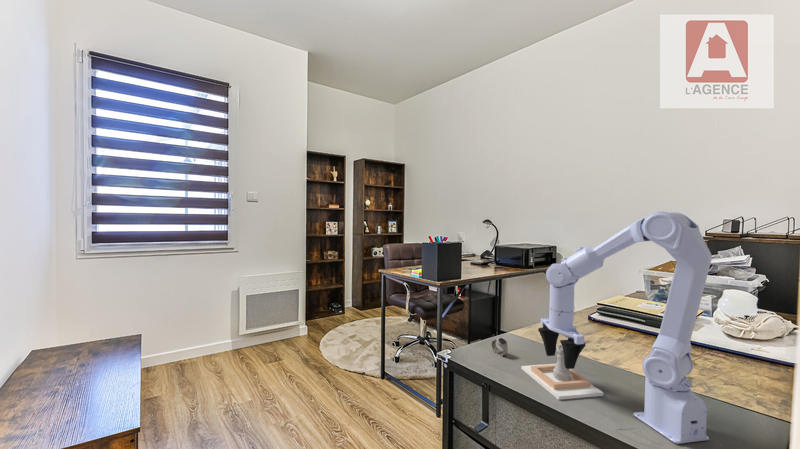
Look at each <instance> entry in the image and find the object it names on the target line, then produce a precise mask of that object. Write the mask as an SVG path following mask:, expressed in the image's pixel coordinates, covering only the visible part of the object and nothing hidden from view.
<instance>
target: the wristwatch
mask: <svg viewBox="0 0 800 449" xmlns="http://www.w3.org/2000/svg"><path fill="white" fill-rule="evenodd" d="M490 343H491V348H492V350H493V352H494V353H495V354H496V353H497V355H498V354H499V355H498V356H500V355H501V356H500V357H505V356H507V354H508V352H509V351H508V341H507V340H506V339H505V338H504V337H496V338H494V339H493V340H492V341H491V342H490ZM496 344H497V345H498V346H499V347H500V348H501V349H502V351H501V350H500V349H499V348H498V347H497V345H496Z"/></svg>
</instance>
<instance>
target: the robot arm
mask: <svg viewBox="0 0 800 449" xmlns="http://www.w3.org/2000/svg"><path fill="white" fill-rule="evenodd" d="M640 242H653V243H655V244H656V245H657V246H660V247H662V248H663V249H664V250H665V251H666V252H667V253H668V254H669V255H670V256H671V257H672V258H673V259H674V260H675V261H676V264H675V268H674V271H673V276H672V279H671V284H670V288H669V292H668V296H667V301H666V304H665V308H664V313H663V316H662V321H661V325H660V328H659V332H658V335H657V338H656V339H655V341H654V343H653V345H652V346H651V347H652V348H651V351H650V353H649V354H648V355H647V356H646V357H644V359H643V361H642V364H641V365H642V366H641V367H642V371H643V373H644V375H645V379H644V380H645V382H644V404H643V405H644V406H643V407H644V408H643V409H644V410H643V411H638V412H637V411H636V412H633V414H632V415H633V416H634V417H636V418H637V419H638V420H640V421H641V422H643V423H644V424H646V425H647V426H649V427H650V428H652V429H654V431H656V432H657V433H659V434H661V435H662V436H664V438H666V439H668V440H669V441H671V442H672V443H674V444H677V445H678V444H686V443H688V444H689V443H693V442H694V443H695V442H703V441H709V440H710V437H709V436H708V435H707V418H708V409H707V403H705V401H704V400H703V399H702V398H701V397H699V396H698V395H696V394H695V393H694V392H693V391H692V389H691V384H690V381H689V380H688V378H687V376H688V375H689V374H690V373H691V372H692V371H693V369H694V363H693V359H692V356H691V351H692V344H691V340H692V336H693V332H694V328H695V325H696V321H697V316H698V312H699V308H700V305H701V302H702V298H703V293H704V290H705V286H706V282H707V279H708V275H709V270H710V266H711V264H712V252H711V251H710V249H709V247H708V245H707V243H706V241H705V239H704V237H703V236H702V233H701V232H700V227H699V224H697V223H696V222H694V221H693V220H692V219H691V218H689V217H688V216H687V215H685V214H683V213H681V212H669V211H655V212H652V213H650V214H649V215H647V216H646V217H645V218H641V219H638V220H636V221H634V222H632V223H631V224H629V225H628V226H626V227H625V228H623V229H622V230H620V231H618V232H617V233H616V234H614V235H612V236H611V237H609V238H608V239H606V240H605V241H603V242H602V243H601V244H599V245H597V246H595V247H592V246H585V247H583V246H581V247H578V248H576V252H575V253H573V254H572V255H570V256H568V257H563V258H561V262H560V263H552V264H550V266H548V268H547V269H546V272H545V277H546V280H547V282H548V283H549V301H548V302H549V307H548V308H549V310H548V312H549V313H548V317H541V318H540V326H542V327H539V328H538V332H539V334H540V335H539V336H541V339H542V341H543V346H544V351H545V355H546V356H548V357H554V356H555V355H556V353H557V351H556V349H557V343H558V338H559V336H560V335H561V336H564V337H565V338H567V339H560V340H559V343H560V344H561V346H562V348H563V352H564V364H565V368H567V369H572V370H573V369H575V367H576V364H577V360H578V359H579V356H580V354H581V352H582V351H583V350H584V348H586V342H585V335H582V334H581V333H580V332H579V331H578V330H577V326H575V325H574V315H575V314H574V311H575V308H574V307H575V285H576V284H577V283H578V282H579V280H580V279H582V278H584V277H585V276H588V275H589V274H591V273H593V272H595V271H597V270H599V269H601V268H602V267H603V266H604V262H605V260H606V258H609V257H611V256H613V255H616V253H618V252H621V251H622V250H623V251H624V250H625V249H626V248H629V247H630V246H633V245H635V244H637V243H640Z"/></svg>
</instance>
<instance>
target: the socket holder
mask: <svg viewBox="0 0 800 449" xmlns="http://www.w3.org/2000/svg"><path fill="white" fill-rule="evenodd" d="M556 364H557V363H549V364H547V363H546V364H544V363H543V364H532V365H531V364H530V365H521V367H520V368H521V370H522V371H523V372H525V373H526V374H527V375H528V376H529V377H531V378H532V379H533V380H534V381H535V382H537V383H538V384H539V385H540V386H541V387H543V388H544V389H545V390H546V391H547V392H548V393H550V395H552V396H553V397H554V398H556V399H557V400H559V401H560V400H573V399H582V398H593V397H604V392H603V391H602V390H601V389H599V388H597V387H596V386H594V385H593V384H592V383H591V381H590V380H588V379H587V378H586V377H584V376H583V375H581V374H579V373H578V372H576V371H575V370H573V369H569V370H570V372H571V375H570V376H571V379H570V380H569V381H561V380H558V379H556V378H555V377H554V376H553V373H554V372H553V369H554V368H555V366H556Z"/></svg>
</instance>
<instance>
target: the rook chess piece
mask: <svg viewBox="0 0 800 449" xmlns="http://www.w3.org/2000/svg"><path fill="white" fill-rule="evenodd" d="M556 353H557V354H556V358H557V360H556V363H555V364H556V366H555V368H554V369H553V372H554V373H553V376H554V377H555V378H556V379H558V380H561V381H569V380H570V379H571V376H570V375H571V372H570V370H569V369H567V368H565V364H564V352H563V348H562V345H557V347H556Z"/></svg>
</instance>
